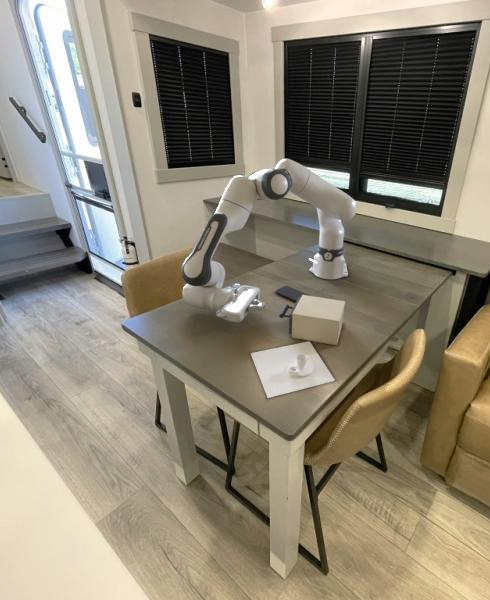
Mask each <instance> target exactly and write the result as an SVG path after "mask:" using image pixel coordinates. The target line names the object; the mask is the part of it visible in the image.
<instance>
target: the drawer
mask: <svg viewBox="0 0 490 600" xmlns="http://www.w3.org/2000/svg"><path fill="white" fill-rule="evenodd" d="M300 299H301V297H299V298H298V300H297V301H296V302H295V304H294V305H293V306H290V305H289V304H287V303H286V304H285V305H284V306H283V308H282V310H281V311H280V313H279V315H278V317H279V318H280V319H284V318H288V334H289V335H292V314H293V312H294V310H295V308H296V306H297V304H298V302H299V300H300ZM289 309H291V310H290V312H289V314H286V313H287V312H288V310H289Z"/></svg>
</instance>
